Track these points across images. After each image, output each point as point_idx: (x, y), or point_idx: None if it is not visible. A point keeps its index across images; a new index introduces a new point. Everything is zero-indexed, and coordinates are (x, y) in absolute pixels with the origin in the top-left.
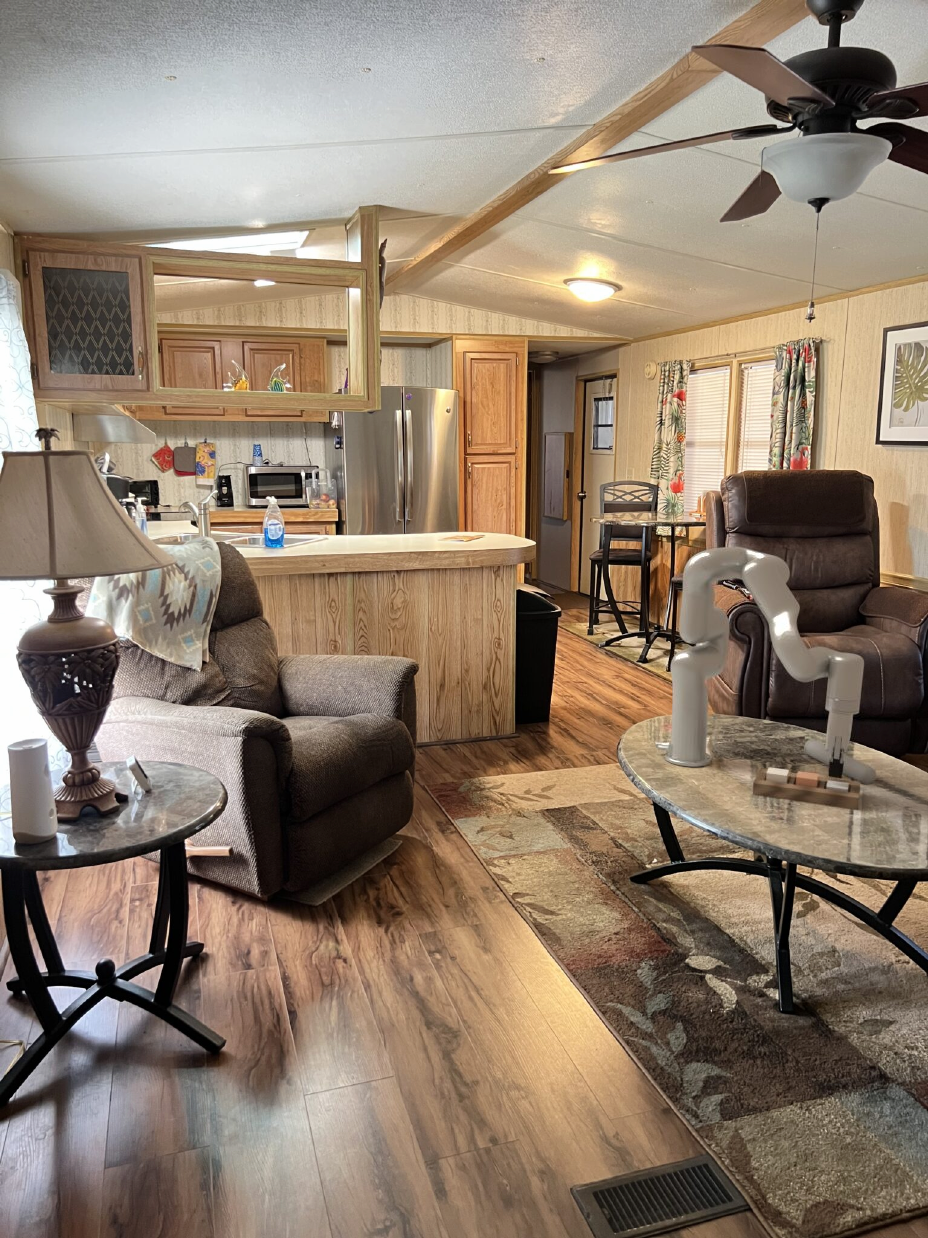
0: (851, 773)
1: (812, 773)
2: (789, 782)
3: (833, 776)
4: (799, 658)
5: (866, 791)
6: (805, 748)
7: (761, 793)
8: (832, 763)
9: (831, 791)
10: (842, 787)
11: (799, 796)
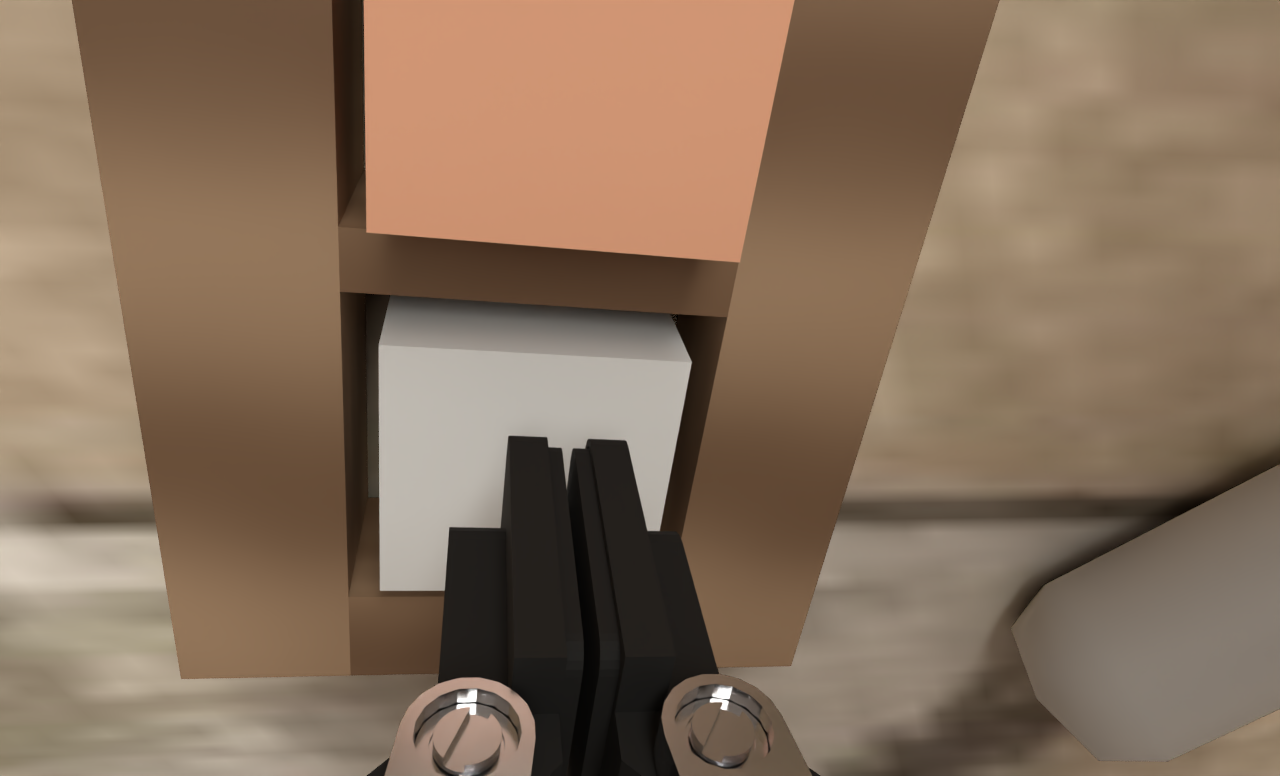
0: (1189, 545)
1: (741, 156)
2: None
3: (503, 509)
4: None
5: (834, 614)
6: None
7: None
8: (507, 670)
9: (261, 398)
10: (431, 536)
11: None
